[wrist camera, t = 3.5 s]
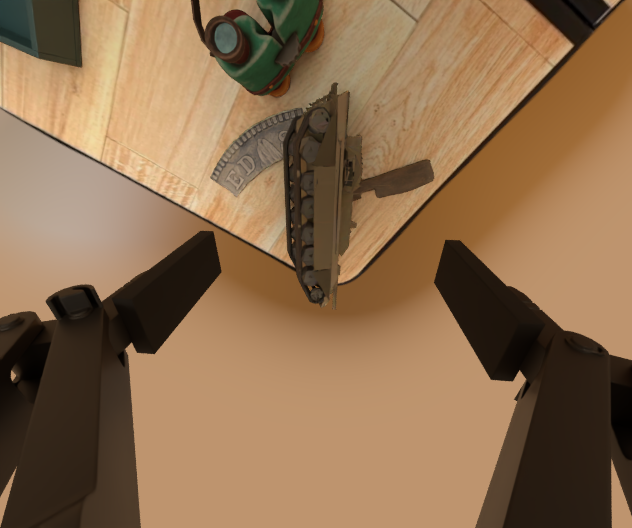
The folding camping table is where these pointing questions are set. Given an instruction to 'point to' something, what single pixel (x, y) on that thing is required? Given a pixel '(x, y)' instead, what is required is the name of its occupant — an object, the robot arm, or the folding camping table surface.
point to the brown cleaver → (398, 180)
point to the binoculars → (263, 42)
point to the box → (42, 29)
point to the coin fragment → (254, 151)
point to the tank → (321, 192)
